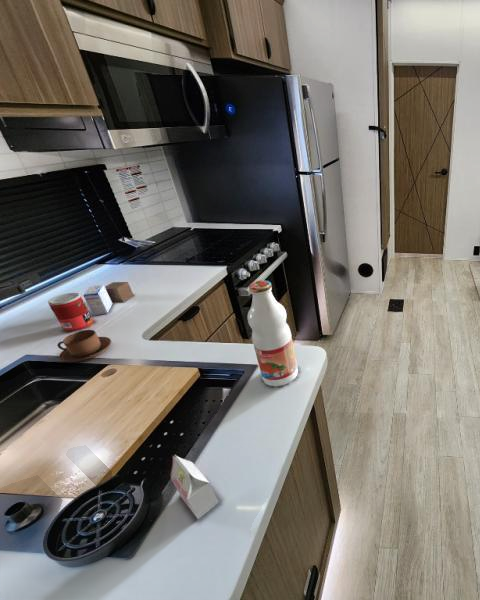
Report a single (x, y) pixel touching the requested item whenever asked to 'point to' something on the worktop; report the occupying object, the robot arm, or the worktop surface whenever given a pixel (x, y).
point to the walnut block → (119, 291)
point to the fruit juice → (271, 336)
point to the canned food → (71, 311)
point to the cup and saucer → (83, 346)
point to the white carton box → (193, 487)
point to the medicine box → (98, 300)
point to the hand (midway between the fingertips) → (13, 276)
